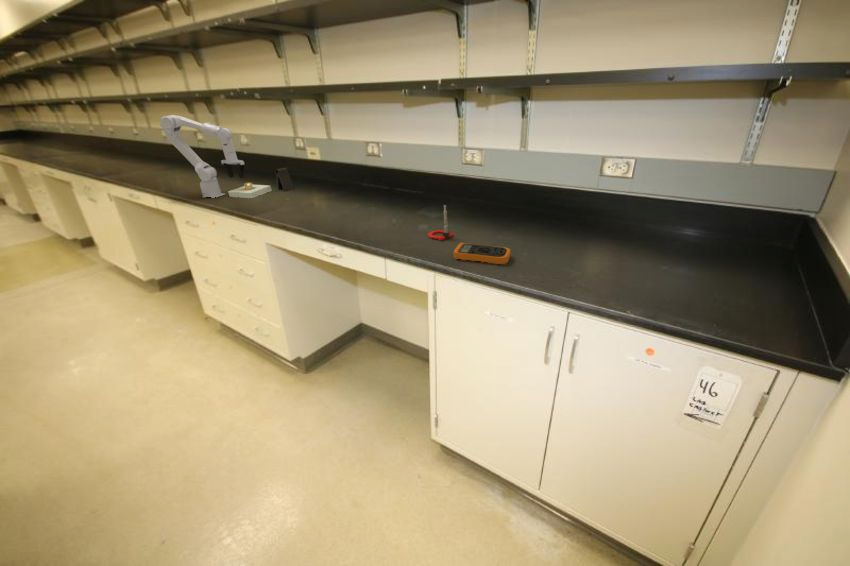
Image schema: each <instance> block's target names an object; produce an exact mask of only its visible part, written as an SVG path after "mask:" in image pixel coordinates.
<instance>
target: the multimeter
mask: <svg viewBox="0 0 850 566" xmlns="http://www.w3.org/2000/svg"><path fill="white" fill-rule="evenodd" d="M453 258H454V259H455V260H456V259H462V260H461V261H466V260H471V261H470V262H474V261H481V262H480V263H483V262H489V263H488V264H490V263H496V264H495V265H497V264H504V265H506V264H507V263H508V262H509V260H510V258H511V249H510V248H508V247H504V246H494V245H483V244H475V243H467V242H466V243H465V242H459V243H458V245H457V246H456V248H455V249H454V250H453ZM505 263H506V264H505Z"/></svg>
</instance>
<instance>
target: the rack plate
mask: <svg viewBox="0 0 850 566" xmlns="http://www.w3.org/2000/svg"><path fill="white" fill-rule="evenodd" d="M252 186H253V189H251V190H246V189H245V186H244V185H243V186H240V187H237V188H234V189H231V190H229V191H228V192H227V193H228V196H229V198H238V197H239V198H241V199H250V198H251V199H253V198H257V197H259V195H260V196H262V195H265V194H267V192H268V193H270V192H272V190H273V189H272V186H271V185H265V184H254V183H252ZM251 199H250V200H251Z"/></svg>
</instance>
